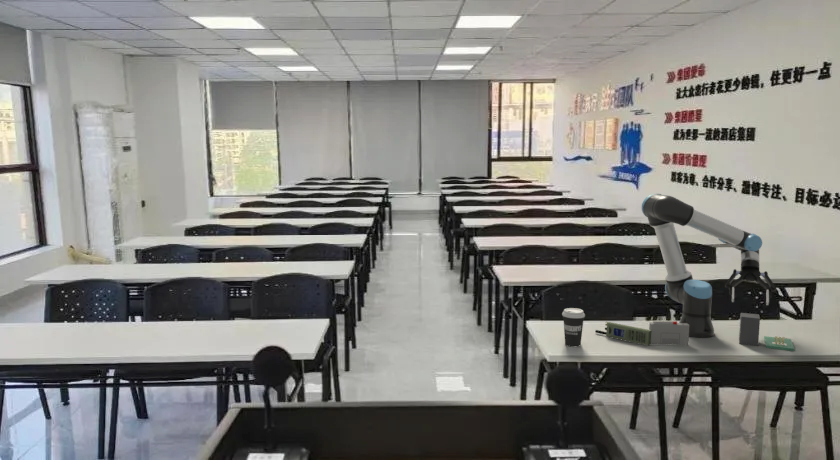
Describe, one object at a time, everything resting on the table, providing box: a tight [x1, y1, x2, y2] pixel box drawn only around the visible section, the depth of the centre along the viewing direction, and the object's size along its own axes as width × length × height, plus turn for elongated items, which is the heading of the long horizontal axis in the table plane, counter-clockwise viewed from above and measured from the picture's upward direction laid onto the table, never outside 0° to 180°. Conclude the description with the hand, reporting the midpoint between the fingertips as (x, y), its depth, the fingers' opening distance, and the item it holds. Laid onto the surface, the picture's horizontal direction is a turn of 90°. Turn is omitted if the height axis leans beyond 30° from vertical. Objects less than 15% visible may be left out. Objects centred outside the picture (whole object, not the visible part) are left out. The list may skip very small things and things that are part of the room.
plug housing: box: [738, 312, 761, 347], centre depth 257 cm, size 7×7×12 cm
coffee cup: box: [561, 307, 586, 347], centre depth 257 cm, size 10×10×15 cm
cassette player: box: [648, 320, 690, 346], centre depth 257 cm, size 16×3×10 cm, turn 83°
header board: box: [763, 335, 795, 352], centre depth 255 cm, size 10×14×4 cm
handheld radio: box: [594, 321, 652, 347], centre depth 264 cm, size 7×3×25 cm
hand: (750, 302), depth 266 cm, fingers open, 13 cm apart
